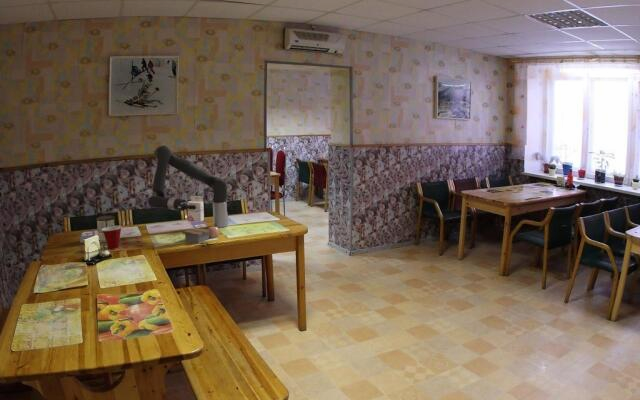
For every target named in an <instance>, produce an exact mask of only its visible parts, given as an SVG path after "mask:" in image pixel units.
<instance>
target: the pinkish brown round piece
mask: <svg viewBox="0 0 640 400" xmlns="http://www.w3.org/2000/svg"><path fill="white" fill-rule="evenodd" d="M207 229H210V230H211V231H210V232H209V239H217V238H219V236H220V235H219V228H218V227H214V226H209V227H208V228H207Z"/></svg>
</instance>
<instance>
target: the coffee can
mask: <svg viewBox="0 0 640 400" xmlns="http://www.w3.org/2000/svg"><path fill="white" fill-rule="evenodd" d="M95 220H96V226H97V227H96V228H97V237H98V236H99V239H100V241H99V242H101V243H106V239H105V236H104V233H103V231H102V229H103V228H106V227H111V226H116V216H114V215H101V216H98V217H96V219H95ZM99 239H98V240H99Z"/></svg>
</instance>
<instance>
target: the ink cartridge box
mask: <svg viewBox="0 0 640 400" xmlns="http://www.w3.org/2000/svg"><path fill="white" fill-rule="evenodd" d="M187 202H188V205H193V206H196V209H195V210H194V209H187V221H188V222H199V223H200V222H202V221H204V219H205V213H204V212H205V210H204V196H201V195H200V196H198V195H190V200H189V201H187Z"/></svg>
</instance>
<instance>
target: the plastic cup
mask: <svg viewBox="0 0 640 400" xmlns="http://www.w3.org/2000/svg"><path fill="white" fill-rule="evenodd" d="M102 231H103V233H104V236H105V239H106V242H105V243H106V245H107V248H108V249H110V250H112V249H113V250H114V249H118V248H119V247H120V243H121V241H120V240H121V233H122V225H115V226H111V227H106V228H103V229H102Z"/></svg>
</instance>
